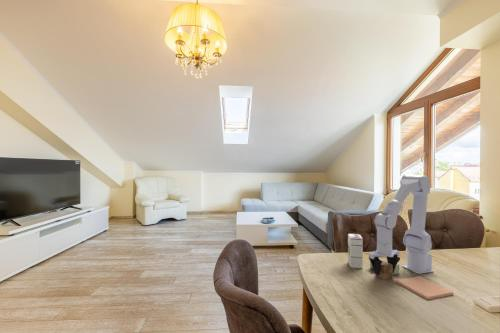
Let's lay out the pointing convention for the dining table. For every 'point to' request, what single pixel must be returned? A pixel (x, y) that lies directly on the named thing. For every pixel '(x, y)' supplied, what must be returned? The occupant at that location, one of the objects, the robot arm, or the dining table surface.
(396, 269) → the sage painted cube
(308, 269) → the dining table surface
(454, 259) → the dining table surface
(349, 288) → the dining table surface
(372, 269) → the grey metal cylinder
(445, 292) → the terracotta tile
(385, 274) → the walnut block
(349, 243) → the syrup box
